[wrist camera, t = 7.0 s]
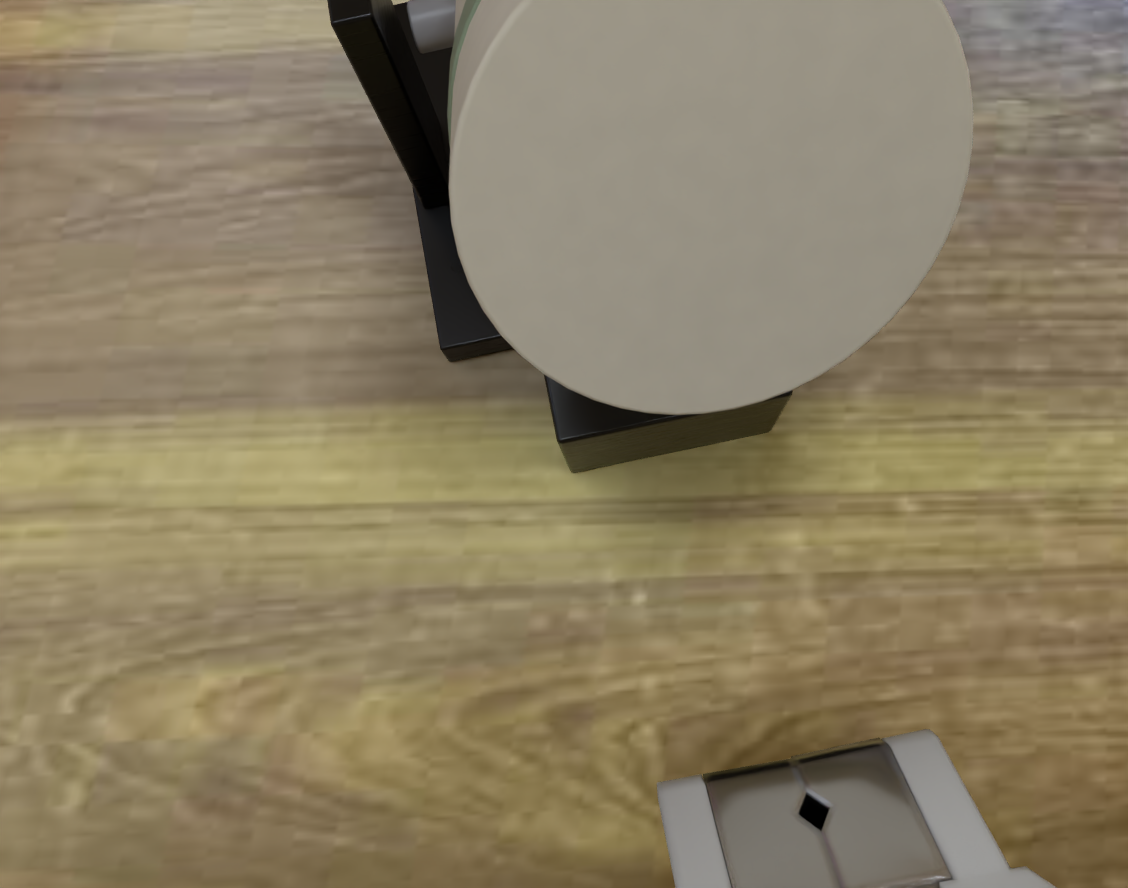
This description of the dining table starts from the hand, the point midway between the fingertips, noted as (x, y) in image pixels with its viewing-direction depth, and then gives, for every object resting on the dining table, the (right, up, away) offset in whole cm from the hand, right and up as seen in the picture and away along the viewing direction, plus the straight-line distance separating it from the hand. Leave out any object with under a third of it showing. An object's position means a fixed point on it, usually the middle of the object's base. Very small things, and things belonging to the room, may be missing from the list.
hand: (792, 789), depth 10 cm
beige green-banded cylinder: (-1, +8, +5) cm, 9 cm away
